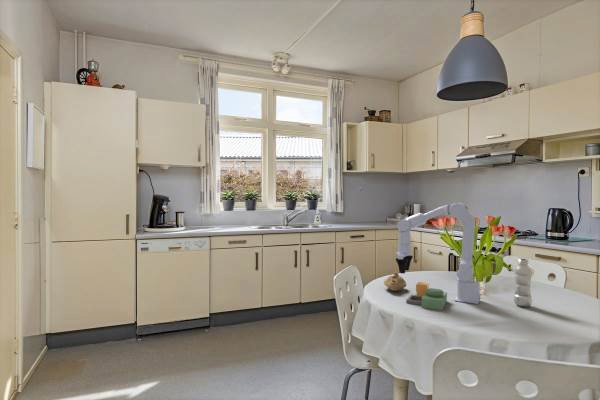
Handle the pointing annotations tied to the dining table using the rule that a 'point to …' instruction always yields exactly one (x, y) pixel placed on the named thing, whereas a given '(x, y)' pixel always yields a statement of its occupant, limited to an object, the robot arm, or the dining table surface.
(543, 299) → the dining table surface
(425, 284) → the chute block
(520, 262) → the plastic bottle
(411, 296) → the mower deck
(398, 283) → the oil lamp
